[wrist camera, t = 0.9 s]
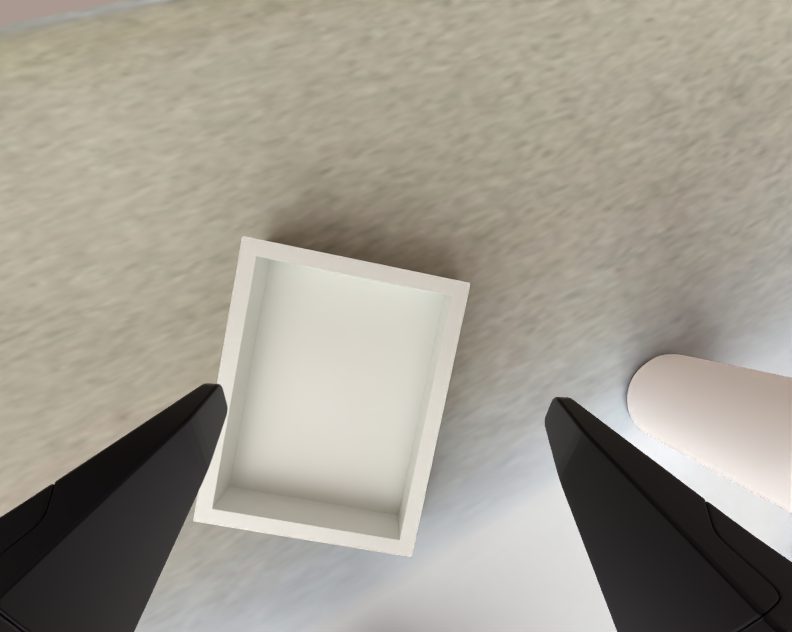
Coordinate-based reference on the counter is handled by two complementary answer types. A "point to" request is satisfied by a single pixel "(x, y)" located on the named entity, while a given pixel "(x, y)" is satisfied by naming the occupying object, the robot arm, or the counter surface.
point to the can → (720, 419)
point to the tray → (330, 397)
